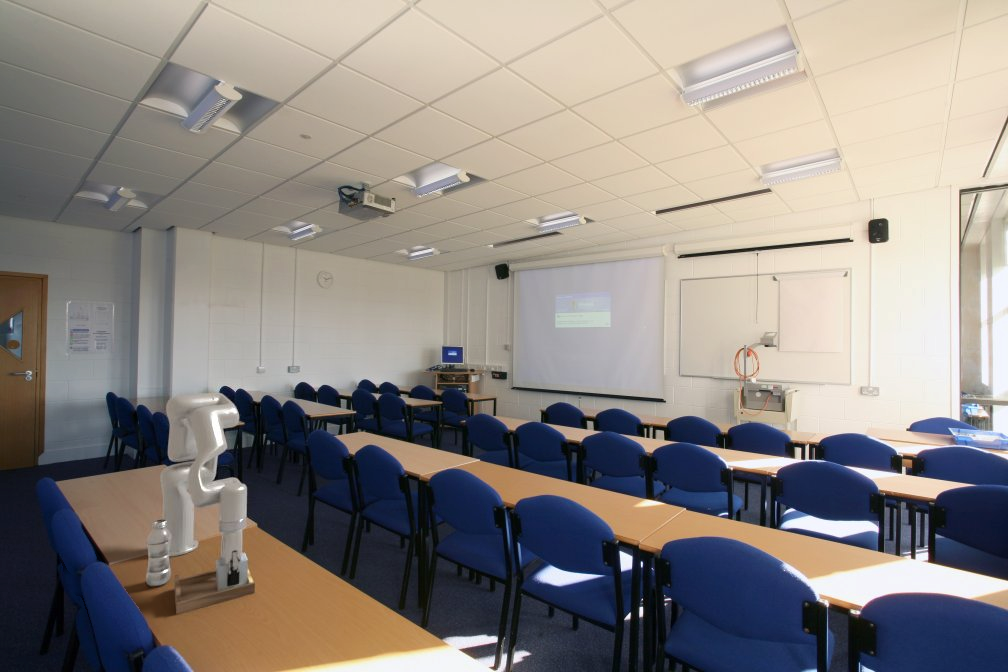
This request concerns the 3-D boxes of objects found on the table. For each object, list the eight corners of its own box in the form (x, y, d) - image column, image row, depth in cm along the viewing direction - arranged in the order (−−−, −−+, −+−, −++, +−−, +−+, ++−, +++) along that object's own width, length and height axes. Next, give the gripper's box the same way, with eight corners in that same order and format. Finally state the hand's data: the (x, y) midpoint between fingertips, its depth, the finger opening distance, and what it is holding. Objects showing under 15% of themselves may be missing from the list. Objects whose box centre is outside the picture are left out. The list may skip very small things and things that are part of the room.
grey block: (216, 582, 150) (216, 558, 150) (244, 575, 155) (244, 551, 155) (218, 591, 145) (218, 565, 145) (247, 583, 150) (247, 559, 150)
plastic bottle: (157, 590, 147) (159, 526, 147) (139, 587, 148) (141, 524, 148) (176, 579, 153) (177, 518, 153) (158, 577, 154) (160, 516, 154)
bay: (174, 589, 147) (174, 573, 147) (246, 571, 159) (246, 556, 159) (176, 614, 135) (176, 597, 135) (254, 592, 147) (254, 576, 147)
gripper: (216, 517, 154) (215, 572, 154) (222, 536, 141) (221, 596, 141) (242, 512, 159) (241, 566, 159) (250, 530, 145) (249, 588, 145)
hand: (231, 579), depth 150 cm, fingers closed on grey block, 6 cm apart
